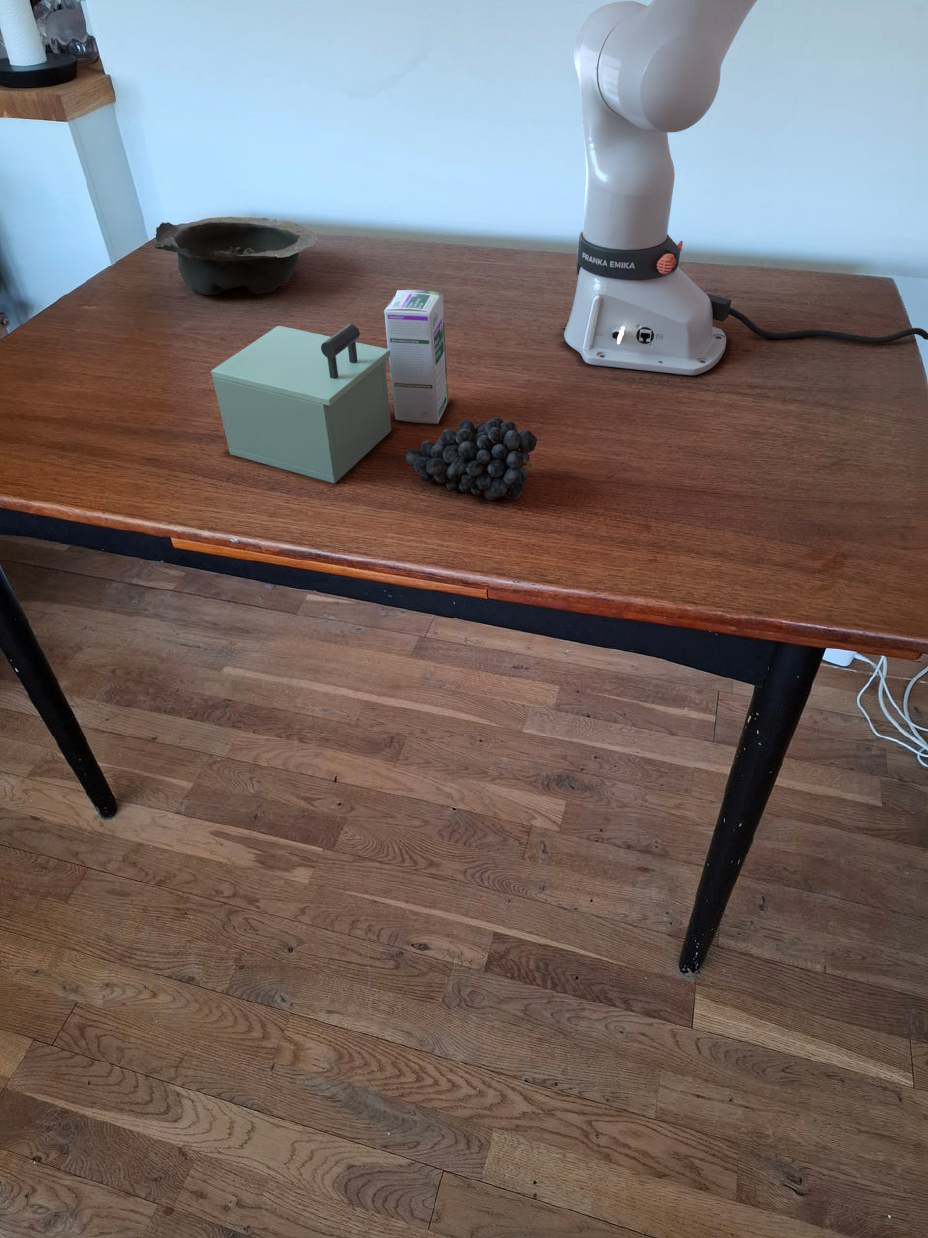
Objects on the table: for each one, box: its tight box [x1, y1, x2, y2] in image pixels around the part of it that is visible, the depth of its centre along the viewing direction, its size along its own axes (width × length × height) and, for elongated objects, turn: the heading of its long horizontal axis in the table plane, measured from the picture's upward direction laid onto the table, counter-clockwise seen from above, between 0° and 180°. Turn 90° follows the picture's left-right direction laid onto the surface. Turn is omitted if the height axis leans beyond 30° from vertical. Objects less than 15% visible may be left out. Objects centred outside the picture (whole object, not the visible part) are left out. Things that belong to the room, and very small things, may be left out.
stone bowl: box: [153, 216, 319, 296], centre depth 142 cm, size 25×25×9 cm
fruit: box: [405, 416, 538, 501], centre depth 97 cm, size 9×8×15 cm
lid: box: [210, 323, 391, 406], centre depth 99 cm, size 16×13×5 cm
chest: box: [212, 360, 392, 484], centre depth 104 cm, size 15×13×10 cm
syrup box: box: [383, 289, 449, 425], centre depth 107 cm, size 6×6×14 cm
